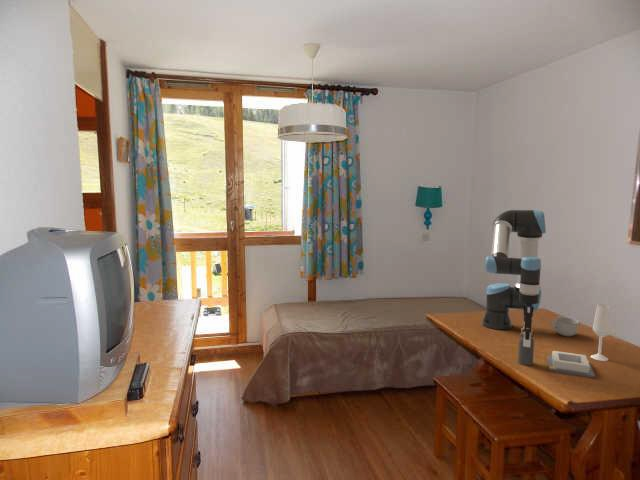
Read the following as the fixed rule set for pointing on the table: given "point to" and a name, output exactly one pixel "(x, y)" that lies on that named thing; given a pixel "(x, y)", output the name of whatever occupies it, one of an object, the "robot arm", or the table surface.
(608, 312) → the champagne flute
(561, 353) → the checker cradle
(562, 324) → the teacup
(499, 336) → the table surface
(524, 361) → the bottle
